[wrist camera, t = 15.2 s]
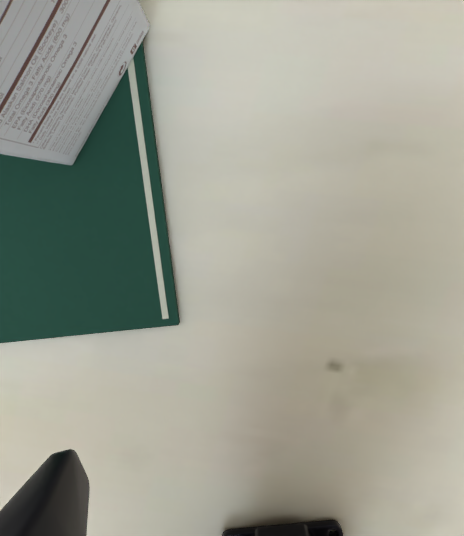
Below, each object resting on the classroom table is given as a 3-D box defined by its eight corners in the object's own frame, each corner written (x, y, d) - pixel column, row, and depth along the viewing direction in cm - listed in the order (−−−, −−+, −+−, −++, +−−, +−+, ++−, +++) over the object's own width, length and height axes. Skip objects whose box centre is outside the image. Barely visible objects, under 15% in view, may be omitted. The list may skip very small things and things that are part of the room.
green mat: (179, 322, 21) (178, 325, 21) (-17, 342, 22) (-22, 345, 21) (120, -132, 18) (117, -139, 18) (-112, -102, 18) (-120, -110, 18)
